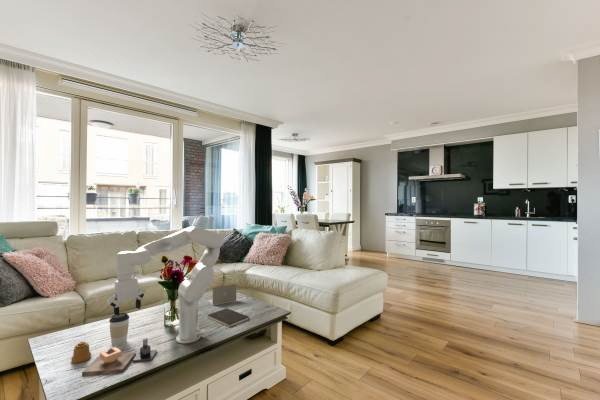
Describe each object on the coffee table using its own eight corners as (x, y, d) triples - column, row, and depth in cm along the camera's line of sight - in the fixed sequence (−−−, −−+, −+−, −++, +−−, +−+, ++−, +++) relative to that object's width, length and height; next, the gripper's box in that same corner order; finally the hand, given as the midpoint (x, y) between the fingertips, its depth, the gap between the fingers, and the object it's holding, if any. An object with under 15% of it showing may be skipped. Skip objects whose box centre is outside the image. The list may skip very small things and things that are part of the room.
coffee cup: (106, 348, 146) (106, 318, 146) (112, 339, 155) (112, 312, 155) (126, 345, 149) (126, 316, 149) (131, 337, 157) (131, 310, 157)
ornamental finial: (67, 362, 133) (84, 354, 140) (77, 365, 131) (94, 357, 138) (67, 344, 133) (84, 337, 140) (78, 347, 131) (95, 340, 138)
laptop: (230, 296, 228) (230, 280, 228) (236, 301, 217) (236, 283, 217) (207, 301, 217) (207, 283, 218) (212, 305, 207) (212, 287, 207)
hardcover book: (228, 328, 171) (228, 324, 171) (206, 318, 185) (207, 314, 185) (249, 319, 183) (249, 316, 183) (227, 311, 198) (227, 307, 198)
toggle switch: (135, 355, 139) (135, 340, 139) (122, 372, 125) (122, 355, 125) (99, 358, 137) (99, 342, 137) (81, 375, 123) (82, 358, 123)
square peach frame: (115, 352, 135) (115, 346, 135) (121, 356, 132) (121, 351, 132) (99, 358, 130) (99, 352, 130) (105, 362, 126) (105, 357, 126)
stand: (156, 352, 142) (157, 334, 142) (151, 360, 134) (151, 342, 134) (139, 353, 141) (139, 335, 141) (132, 362, 133) (132, 343, 133)
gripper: (140, 271, 149) (142, 304, 150) (103, 280, 135) (104, 316, 135) (148, 273, 145) (149, 307, 145) (110, 282, 131) (111, 319, 131)
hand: (127, 311), depth 140 cm, fingers open, 9 cm apart
